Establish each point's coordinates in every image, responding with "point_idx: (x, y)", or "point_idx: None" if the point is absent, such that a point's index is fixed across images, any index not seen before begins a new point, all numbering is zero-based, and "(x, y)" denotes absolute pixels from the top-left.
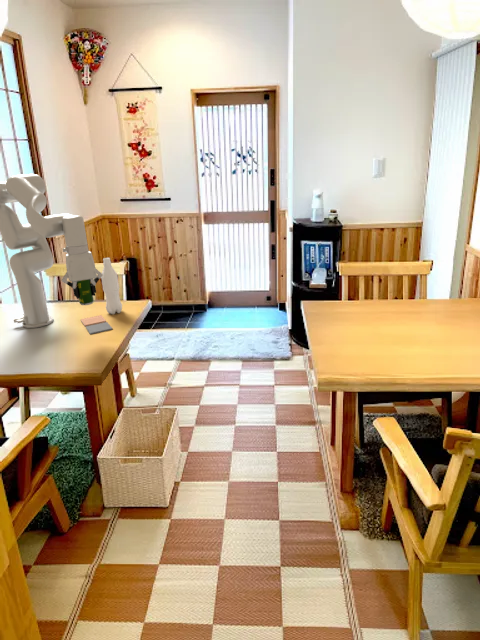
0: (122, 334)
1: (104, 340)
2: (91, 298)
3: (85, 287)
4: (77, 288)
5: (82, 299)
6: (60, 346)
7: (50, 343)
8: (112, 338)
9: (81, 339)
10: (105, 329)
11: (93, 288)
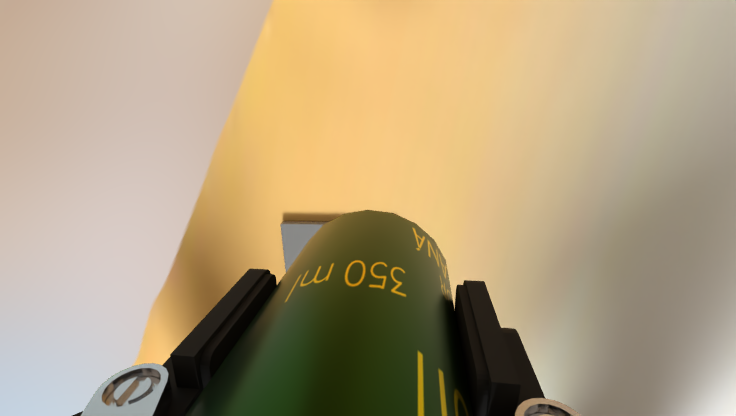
0: (247, 118)
1: (348, 86)
2: (311, 241)
3: (325, 320)
4: (470, 406)
5: (421, 248)
6: (581, 146)
7: (611, 225)
8: (304, 90)
9: (454, 181)
10: (315, 227)
11: (208, 325)
